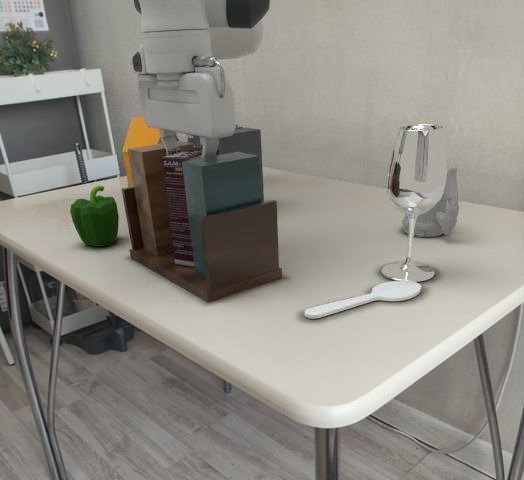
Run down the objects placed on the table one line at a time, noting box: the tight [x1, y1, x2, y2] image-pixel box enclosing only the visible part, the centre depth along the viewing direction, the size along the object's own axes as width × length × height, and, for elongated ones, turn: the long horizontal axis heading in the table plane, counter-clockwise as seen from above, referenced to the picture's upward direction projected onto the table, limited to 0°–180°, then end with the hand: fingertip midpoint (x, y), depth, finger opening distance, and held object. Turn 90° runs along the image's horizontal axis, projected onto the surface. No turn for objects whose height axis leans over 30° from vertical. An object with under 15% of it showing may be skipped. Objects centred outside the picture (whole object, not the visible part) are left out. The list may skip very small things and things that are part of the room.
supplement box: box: [162, 148, 219, 267], centre depth 80 cm, size 9×5×16 cm, turn 153°
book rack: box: [121, 140, 283, 303], centre depth 80 cm, size 25×13×18 cm, turn 37°
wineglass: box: [381, 123, 448, 283], centre depth 73 cm, size 8×8×20 cm
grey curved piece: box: [401, 166, 460, 238], centre depth 90 cm, size 8×12×12 cm, turn 20°
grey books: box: [194, 125, 265, 202], centre depth 110 cm, size 11×9×16 cm
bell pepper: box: [69, 185, 120, 247], centre depth 96 cm, size 8×8×10 cm
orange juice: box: [122, 115, 180, 187], centre depth 102 cm, size 8×9×20 cm
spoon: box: [303, 280, 422, 320], centre depth 70 cm, size 5×18×1 cm, turn 116°
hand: (190, 165), depth 77 cm, fingers open, 8 cm apart
